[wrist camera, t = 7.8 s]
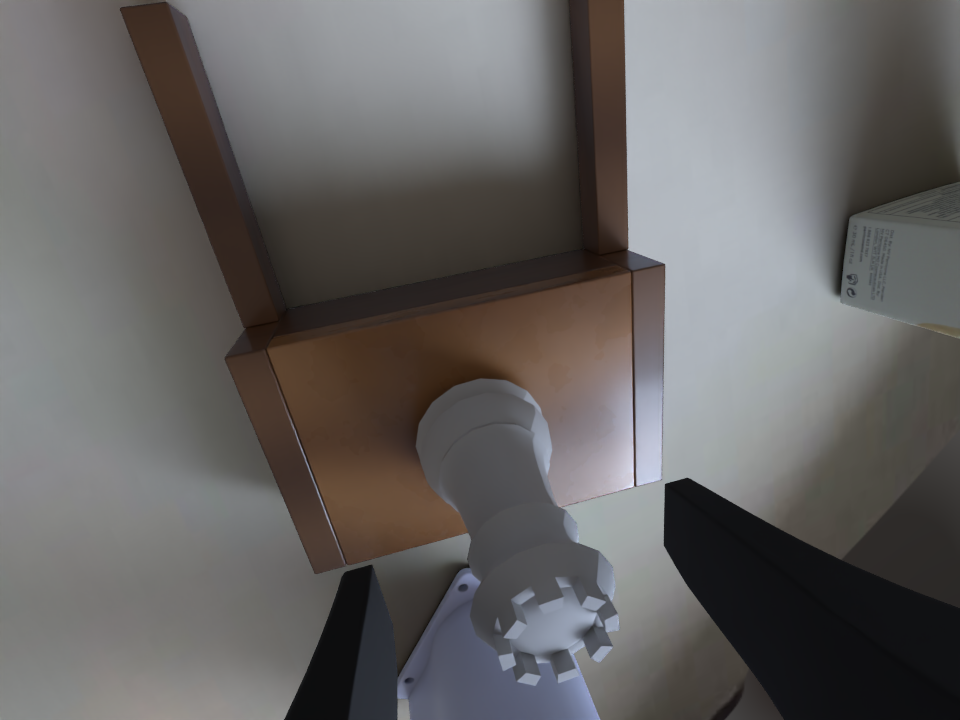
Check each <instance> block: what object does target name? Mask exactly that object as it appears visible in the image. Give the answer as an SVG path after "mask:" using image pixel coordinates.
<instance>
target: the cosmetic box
mask: <svg viewBox="0 0 960 720" xmlns="http://www.w3.org/2000/svg"><path fill="white" fill-rule="evenodd" d="M841 303H842V304H845V305H848V306H851V307H855V308H858V309H862V310H865V311H868V312H871V313H875V314H878V315H882V316H885V317H888V318H892V319H895V320H899V321H902V322H906V323H909V324H912V325H916V326H920V327H923V328H926V329H930V330H933V331H936V332H939V333H943V334H946V335H950V336H953V337H956V338H960V182H957V183H953V184H949V185H946V186H942V187H939V188H935V189H932V190H928V191H925V192H922V193H918V194H915V195H912V196H909V197H906V198H902V199H899V200H896V201H893V202H890V203H887V204H884V205H881V206H878V207H875V208H872V209H869V210H866V211H864V212H861V213H858V214H855V215H853V216H851V217H850V219H849V226H848V234H847V241H846V249H845V257H844V266H843V277H842V287H841Z"/></svg>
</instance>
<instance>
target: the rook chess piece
mask: <svg viewBox="0 0 960 720" xmlns="http://www.w3.org/2000/svg"><path fill="white" fill-rule="evenodd" d="M416 449H417V452H418V455H419V458H420V463H421V465H422V468H423V471H424V474H425V477H426V480H427V483H428V484H429V486H430V487H431V488H432V489H433V490H434V491H435V492H436V493H437V494H438V495H439V496H440V497H441V498H442V499H443V500H444V501H445V502H446V503H448V504H450V505H451V506H452V507H453V508H454V509H455V510H456V511H457V512H459V513H460V515H461V517H462V519H463V522H464V524H465V526H466V528H467V530H468V533H469V535H470V537H471V544H470V548H469V553H468V558H467V560H468V563H469V566H470V569H471V572H472V575H473V576H474V577H475V578H477V579H478V580H479V581H480V582H481V583H480V585H479V586H478V588H477V590H476V592H475V594H474V598H473V603H472V607H471V612H470V619H471V622H472V625H473V627H474V630H475V633H476V635H477V636H478V637H479V638H480V639H482V640H483V641H484V642H485V643H487V644H488V645H489V646H490V647H492V648H493V649H494V650H496V651H497V653H498V657H499V660H500V663H501V666H502V669H503V671H505V670H507V669H509V668H511V667H512V668H513V671H514V675H515V679H516V682H520V683H525V684H529V685H534V686H536V684H537V682H538V681H539V679H540V677H541V675H540V671H539V668H538V665H537V663H549V662H550V663H551V666H552V669H553V672H554V675H555V677H556V680H557V683H561V682H563V681H566V680H569V679H572V678H574V677H577V676H580V675H579V672H578V670H577V667H576V665H575V662H574V660H573V657H572V654H573V653H575V652H576V651H578V650H579V649H581V648H582V647H584V646H586V649H587V651H588V653H589V655H590V658H591V659H593V660H595V661H597V662H600V661H601V660H602V659H603V658H604V657H605V655H606V654H607V653H608V652H609V651H610V650H611V649H612V648H613V645H612V643H611V641H610V639H609V637H608V635H607V632H611V631H616V630H620V627H619V620H618V613H617V612H616V610H615V608H614V606H613V604H612V598H613V594H614V590H615V581H614V573H613V567H612V565H611V564H610V563H609V562H608V561H607V560H606V558H605V557H604V556H603V555H602V554H601V553H600V551H598V550H595V549H592V548H590V547H587V546H584V545H582V544H579V543H578V541H579V535H578V529H577V523H576V522H575V521H574V519H573V518H572V517H571V516H570V515H569V514H568V512H567V511H566V510H564V509H562V508H559V507H558V505H557V503H556V501H555V499H554V496H553V493H552V490H551V487H550V483H549V480H548V477H547V475H548V471H549V467H550V462H549V461H550V457H551V453H552V445H551V439H550V434H549V428H548V423H547V421H546V420H545V419H544V417H543V416H542V412H541V408H540V407H539V405H538V404H537V403H536V401H535V400H534V399H533V398H532V396H531V395H530V394H529V392H528V391H527V390H525V389H523V388H521V387H519V386H517V385H515V384H513V383H511V382H509V381H507V380H496V379H482V378H480V379H476V380H473V381H470V382H466V383H463V384H460V385H456V386H454V387H452V388H451V389H450V390H448V391H447V392H445V393H444V394H443V395H441V396H440V397H439V398H437V399H436V400H435V401H433V402H432V404H431V405H430V407H429V408H428V410H427V411H426V413H425V415H424V416H423V418H422V419H421V421H420V423H419V426H418V433H417V440H416ZM604 628H605V629H604ZM605 630H606V631H605Z"/></svg>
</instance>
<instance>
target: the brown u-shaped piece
mask: <svg viewBox="0 0 960 720" xmlns="http://www.w3.org/2000/svg"><path fill="white" fill-rule="evenodd" d="M569 7H570V25H571V42H572V59H573V77H574V94H575V111H576V129H577V146H578V163H579V181H580V198H581V215H582V233H583V248H584V250H582V249H581V250H576V251H571V252H566V253H561V254H556V255H552V256H547V257H542V258H537V259H532V260H527V261H522V262H517V263H512V264H507V265H502V266H497V267H493V268H488V269H483V270H478V271H473V272H468V273H463V274H458V275H453V276H448V277H443V278H438V279H434V280H429V281H424V282H419V283H414V284H409V285H404V286H399V287H394V288H389V289H384V290H379V291H375V292H370V293H365V294H360V295H355V296H350V297H345V298H340V299H335V300H330V301H325V302H321V303H316V304H311V305H306V306H301V307H296V308H291V309H288V310H287V311H286V306H285V303H284V300H283V297H282V294H281V291H280V288H279V286H278V283H277V280H276V277H275V274H274V271H273V268H272V265H271V262H270V259H269V256H268V253H267V250H266V248H265V245H264V242H263V239H262V236H261V233H260V230H259V227H258V224H257V221H256V218H255V215H254V212H253V209H252V207H251V204H250V201H249V198H248V195H247V192H246V189H245V186H244V183H243V180H242V177H241V174H240V171H239V169H238V166H237V163H236V160H235V157H234V154H233V151H232V148H231V145H230V142H229V139H228V136H227V133H226V131H225V128H224V125H223V122H222V119H221V116H220V113H219V110H218V107H217V104H216V101H215V98H214V95H213V93H212V90H211V87H210V84H209V81H208V78H207V75H206V72H205V69H204V66H203V63H202V60H201V57H200V55H199V52H198V49H197V46H196V43H195V40H194V37H193V34H192V31H191V28H190V25H189V22H188V19H187V17H186V16H185V15H183V14H182V13H181V12H179V11H178V10H177V9H175V8H174V7H173V6H171V5H170V4H168V3H167V2H160V3H152V4H144V5H135V6H127V7H121V8H120V11H121V14H122V16H123V19H124V22H125V24H126V27H127V29H128V32H129V34H130V37H131V40H132V42H133V45H134V47H135V50H136V52H137V55H138V58H139V60H140V63H141V65H142V68H143V70H144V73H145V76H146V78H147V81H148V83H149V86H150V88H151V91H152V94H153V96H154V99H155V101H156V104H157V106H158V109H159V111H160V114H161V117H162V119H163V122H164V124H165V127H166V129H167V132H168V135H169V137H170V140H171V142H172V145H173V147H174V150H175V153H176V155H177V158H178V160H179V163H180V165H181V168H182V171H183V173H184V176H185V178H186V181H187V183H188V186H189V189H190V191H191V194H192V196H193V199H194V201H195V204H196V206H197V209H198V212H199V214H200V217H201V219H202V222H203V224H204V227H205V230H206V232H207V235H208V237H209V240H210V242H211V245H212V248H213V250H214V253H215V255H216V258H217V260H218V263H219V266H220V268H221V271H222V273H223V276H224V278H225V281H226V284H227V286H228V289H229V291H230V294H231V296H232V299H233V301H234V304H235V307H236V309H237V312H238V314H239V317H240V319H241V322H242V325H243V327H244V328H246V329H245V330H244V331H243V333H242V334H241V336H240V337H239V338H238V340H237V341H236V342H235V344H234V345H233V347H232V348H231V349H230V351H229V352H228V354H227V355H226V356H225V361H226V364H227V366H228V368H229V371H230V373H231V376H232V378H233V380H234V383H235V385H236V387H237V390H238V392H239V395H240V397H241V399H242V402H243V404H244V406H245V409H246V411H247V414H248V416H249V418H250V421H251V423H252V425H253V428H254V430H255V433H256V435H257V437H258V440H259V442H260V444H261V447H262V449H263V452H264V454H265V456H266V459H267V461H268V463H269V466H270V468H271V471H272V473H273V475H274V478H275V480H276V483H277V485H278V487H279V490H280V492H281V494H282V497H283V499H284V502H285V504H286V506H287V509H288V511H289V513H290V516H291V518H292V521H293V523H294V525H295V528H296V530H297V532H298V535H299V537H300V540H301V542H302V544H303V547H304V549H305V551H306V554H307V556H308V559H309V561H310V563H311V566H312V568H313V570H314V573H315V574H319V573H322V572H326V571H330V570H333V569H337V568H341V567H344V566H346V564H347V565H352V564H356V563H359V562H363V561H367V560H370V559H374V558H378V557H381V556H385V555H388V554H392V553H396V552H399V551H403V550H407V549H410V548H414V547H418V546H421V545H425V544H429V543H432V542H436V541H440V540H443V539H447V538H451V537H454V536H458V535H462V534H465V533H468V530H467V528H466V526H465V524H464V522H463V519H462V517H461V515H460V513H459V512H457V511H456V510H455V509H454V508H453V507H452V506H451V505H450V504H448V503H446V502H445V501H444V500H443V499H442V498H441V497H440V496H439V495H438V494H437V493H436V492H435V491H434V490H433V489H432V488H431V487H430V486H429V484H428V483H427V480H426V477H425V474H424V471H423V468H422V465H421V463H420V458H419V455H418V452H417V449H416V440H417V433H418V426H419V423H420V421H421V419H422V418H423V416H424V415H425V413H426V411H427V410H428V408H429V407H430V405H431V404H432V402H433V401H435V400H436V399H437V398H439V397H440V396H441V395H443V394H444V393H445V392H447V391H448V390H450V389H451V388H452V387H454V386H456V385H460V384H463V383H466V382H470V381H473V380H476V379H480V378H482V379H496V380H507V381H509V382H511V383H513V384H515V385H517V386H519V387H521V388H523V389H525V390H527V391H528V392H529V394H530V395H531V396H532V398H533V399H534V400H535V401H536V403H537V404H538V405H539V407H540V408H541V412H542V416H543V417H544V419H545V420H546V421H547V423H548V428H549V434H550V439H551V445H552V453H551V457H550V461H549V462H550V467H549V471H548V475H547V477H548V480H549V483H550V487H551V490H552V493H553V496H554V499H555V501H556V503H557V505H558V507H559V508H560V507H564V506H567V505H571V504H575V503H578V502H582V501H586V500H589V499H593V498H597V497H600V496H604V495H608V494H611V493H615V492H619V491H622V490H626V489H630V488H633V487H634V486H635V487H637V486H641V485H645V484H648V483H652V482H656V481H659V480H662V437H663V374H664V311H665V264H663V263H661V262H658V261H655V260H653V259H650V258H647V257H645V256H642V255H639V254H637V253H634V252H631V251H629V250H627V249H628V203H627V146H626V89H625V31H624V0H569Z"/></svg>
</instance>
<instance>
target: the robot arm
mask: <svg viewBox="0 0 960 720" xmlns="http://www.w3.org/2000/svg"><path fill="white" fill-rule="evenodd" d="M664 547H665V548H666V550H667V552H668V554H669V555H670V557H671V559H672V561H673V562H674V564H675V566H676V568H677V569H678V571H679V573H680V574H681V576H682V578H683V579H684V581H685V583H686V584H687V586H688V587H689V588H690V590H691V591H692V592H693V594H694V595H695V597H696V598H697V599H698V601H699V602H700V603H701V605H702V606H703V607H704V609H705V610H706V611H707V613H708V614H709V615H710V617H711V618H712V619H713V621H714V622H715V623H716V625H717V626H718V627H719V629H720V630H721V631H722V633H723V634H724V635H725V637H726V638H727V639H728V641H729V642H730V643H731V644H732V646H733V647H734V648H735V650H736V651H737V652H738V654H739V655H740V656H741V658H742V659H743V660H744V662H745V663H746V664H747V666H748V667H749V668H750V670H751V671H752V672H753V674H754V675H755V676H756V678H757V679H758V681H759V682H760V684H761V685H762V686H763V688H764V689H765V691H766V692H767V693H768V695H769V697H770V698H771V700H772V701H773V703H774V704H775V706H776V707H777V709H778V711H779V712H780V714H781V716H782V717H783V718H784V720H960V608H958V607H955V606H952V605H950V604H947V603H944V602H942V601H939V600H936V599H934V598H931V597H928V596H925V595H923V594H920V593H917V592H915V591H913V590H910V589H907V588H905V587H902V586H900V585H897V584H895V583H892V582H890V581H888V580H886V579H883V578H881V577H879V576H876V575H874V574H872V573H869V572H867V571H865V570H862V569H860V568H857V567H855V566H853V565H851V564H849V563H847V562H844V561H842V560H840V559H838V558H836V557H834V556H832V555H830V554H828V553H826V552H824V551H822V550H819V549H817V548H815V547H813V546H811V545H809V544H807V543H805V542H803V541H801V540H799V539H797V538H796V537H794V536H792V535H790V534H788V533H786V532H784V531H782V530H780V529H778V528H776V527H775V526H773V525H771V524H769V523H767V522H765V521H764V520H762V519H760V518H758V517H756V516H755V515H753V514H751V513H749V512H747V511H746V510H744V509H742V508H740V507H739V506H737V505H735V504H733V503H732V502H730V501H728V500H726V499H725V498H723V497H721V496H719V495H718V494H716V493H714V492H712V491H711V490H709V489H707V488H705V487H704V486H702V485H700V484H698V483H697V482H695V481H693V480H691V479H689V478H685V479H681V480H678V481H674V482H670V483H667V484H665V507H664ZM480 583H481V582H480V581H479V580H478V579H477V578H475V577H474V576H473V575H472V572H471V569H470V568H464V569H462V570H460V571H459V572H458V573H457V575H456V577H455V579H454V580H453V582H452V584H451V586H450V587H449V589H448V591H447V593H446V594H445V596H444V598H443V600H442V601H441V603H440V605H439V607H438V608H437V610H436V612H435V614H434V615H433V617H432V619H431V621H430V622H429V624H428V626H427V628H426V629H425V631H424V633H423V635H422V636H421V638H420V640H419V642H418V643H417V645H416V647H415V649H414V650H413V652H412V654H411V656H410V657H409V659H408V661H407V663H406V664H405V666H404V668H403V670H402V671H401V673H400V675H399V677H398V678H397V662H396V651H395V641H394V631H393V623H392V621H391V618H390V615H389V612H388V609H387V606H386V603H385V600H384V597H383V594H382V591H381V589H380V586H379V583H378V580H377V577H376V574H375V571H374V568H373V565H369V566H365V567H361V568H358V569H354V570H351V571H347V572H345V573H344V574H343V576H342V577H341V581H340V584H339V587H338V590H337V593H336V596H335V599H334V602H333V605H332V608H331V611H330V613H329V616H328V619H327V621H326V624H325V627H324V629H323V632H322V635H321V637H320V640H319V642H318V644H317V647H316V649H315V652H314V654H313V657H312V659H311V661H310V664H309V666H308V669H307V671H306V673H305V676H304V678H303V680H302V682H301V685H300V687H299V689H298V691H297V693H296V695H295V698H294V700H293V702H292V704H291V706H290V708H289V710H288V713H287V715H286V717H285V719H284V720H397V698H401V699H409V711H410V720H600V718H599V716H598V713H597V711H596V708H595V706H594V703H593V701H592V698H591V696H590V693H589V691H588V688H587V686H586V683H585V681H584V679H583V676H582V674H581V671H580V669H579V666H578V664H577V661H576V659H575V656H574V654H572V657H573V660H574V662H575V665H576V667H577V670H578V672H579V675H580V676H577V677H574V678H572V679H569V680H566V681H563V682H561V683H557V680H556V677H555V675H554V672H553V669H552V666H551V663H550V662H549V663H537V665H538V668H539V671H540V675H541V677H540V679H539V681H538V682H537V684H536V686H534V685H529V684H525V683H520V682H516V679H515V675H514V671H513V668H512V667H511V668H509V669H507V670H505V671H503V669H502V666H501V663H500V660H499V657H498V653H497V651H496V650H494V649H493V648H492V647H490V646H489V645H488V644H487V643H485V642H484V641H483V640H482V639H480V638H479V637H478V636H477V635H476V633H475V630H474V627H473V625H472V622H471V619H470V612H471V607H472V603H473V598H474V594H475V592H476V590H477V588H478V586H479V585H480ZM462 584H464V585H462Z"/></svg>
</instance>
